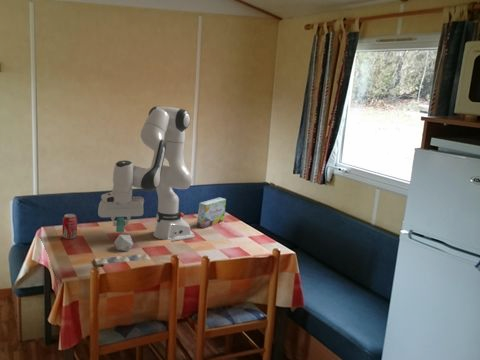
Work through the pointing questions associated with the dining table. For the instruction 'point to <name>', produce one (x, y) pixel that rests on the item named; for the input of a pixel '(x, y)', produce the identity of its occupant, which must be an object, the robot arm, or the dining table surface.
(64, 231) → the soda can
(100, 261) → the track
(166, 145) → the robot arm
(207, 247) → the dining table surface
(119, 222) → the pawn
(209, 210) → the snack box
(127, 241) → the die
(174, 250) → the dining table surface
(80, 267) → the dining table surface
